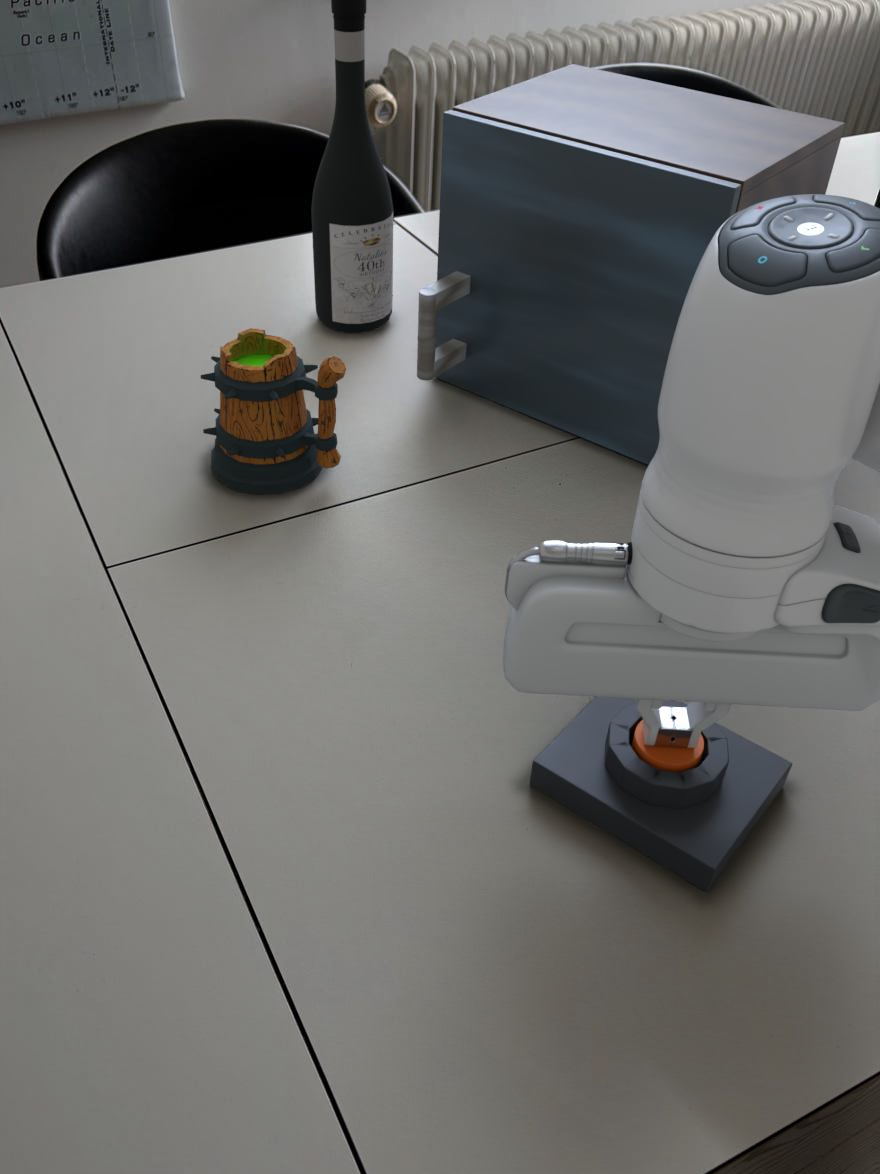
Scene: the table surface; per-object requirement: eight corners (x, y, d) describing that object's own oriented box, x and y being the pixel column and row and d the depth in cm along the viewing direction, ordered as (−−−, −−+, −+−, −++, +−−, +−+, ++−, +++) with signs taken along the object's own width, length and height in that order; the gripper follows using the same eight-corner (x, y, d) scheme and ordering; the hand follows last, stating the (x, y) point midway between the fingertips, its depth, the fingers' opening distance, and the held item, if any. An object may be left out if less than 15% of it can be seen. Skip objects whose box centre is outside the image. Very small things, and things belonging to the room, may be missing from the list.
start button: (710, 755, 62) (716, 735, 61) (677, 795, 60) (683, 775, 59) (651, 723, 64) (656, 703, 63) (617, 761, 62) (622, 741, 60)
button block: (783, 786, 64) (801, 742, 61) (706, 892, 58) (722, 849, 55) (614, 695, 69) (623, 651, 67) (528, 784, 64) (535, 740, 61)
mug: (183, 475, 88) (164, 349, 80) (252, 420, 94) (240, 299, 87) (315, 520, 83) (308, 390, 75) (377, 459, 90) (376, 334, 82)
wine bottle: (405, 327, 109) (412, -5, 88) (338, 344, 106) (328, 4, 85) (368, 297, 114) (366, -23, 93) (303, 313, 111) (286, -15, 90)
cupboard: (678, 470, 89) (744, 181, 73) (440, 373, 101) (452, 106, 85) (770, 391, 100) (845, 122, 83) (544, 311, 112) (572, 63, 95)
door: (636, 504, 85) (695, 211, 69) (394, 399, 97) (397, 128, 81) (677, 470, 89) (742, 184, 73) (439, 372, 101) (450, 109, 85)
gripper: (510, 579, 49) (489, 769, 59) (948, 602, 49) (856, 791, 58) (509, 503, 54) (489, 690, 63) (908, 522, 53) (829, 709, 63)
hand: (668, 738), depth 61 cm, fingers closed, pressing on start button
